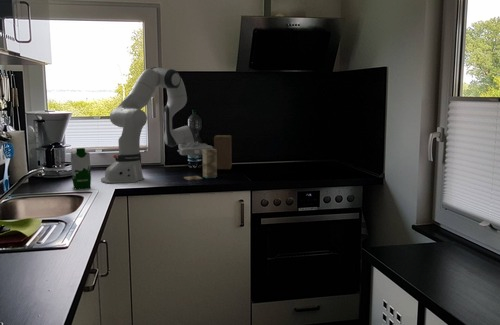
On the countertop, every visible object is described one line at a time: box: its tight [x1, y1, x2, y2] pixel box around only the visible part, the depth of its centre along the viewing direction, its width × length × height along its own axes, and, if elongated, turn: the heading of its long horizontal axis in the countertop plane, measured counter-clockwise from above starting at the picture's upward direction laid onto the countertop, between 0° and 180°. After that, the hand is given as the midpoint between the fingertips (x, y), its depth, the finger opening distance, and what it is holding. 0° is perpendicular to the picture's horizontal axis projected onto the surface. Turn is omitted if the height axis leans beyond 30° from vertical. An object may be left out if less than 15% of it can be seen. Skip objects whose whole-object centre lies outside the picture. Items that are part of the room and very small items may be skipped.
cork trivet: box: [183, 175, 204, 181], centre depth 269 cm, size 8×8×1 cm
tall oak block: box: [202, 148, 218, 179], centre depth 272 cm, size 6×6×16 cm
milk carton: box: [70, 147, 92, 190], centre depth 244 cm, size 9×9×20 cm
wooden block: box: [213, 134, 233, 170], centre depth 301 cm, size 10×10×20 cm
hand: (201, 152), depth 283 cm, fingers closed
